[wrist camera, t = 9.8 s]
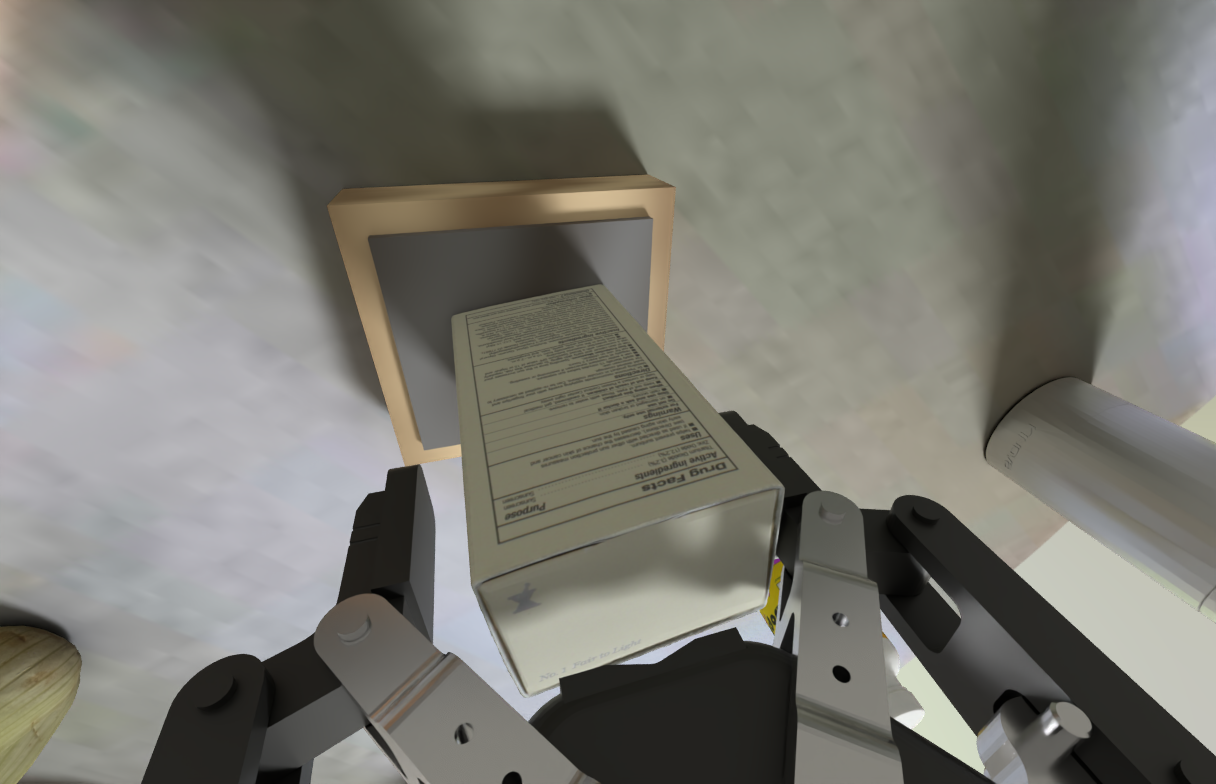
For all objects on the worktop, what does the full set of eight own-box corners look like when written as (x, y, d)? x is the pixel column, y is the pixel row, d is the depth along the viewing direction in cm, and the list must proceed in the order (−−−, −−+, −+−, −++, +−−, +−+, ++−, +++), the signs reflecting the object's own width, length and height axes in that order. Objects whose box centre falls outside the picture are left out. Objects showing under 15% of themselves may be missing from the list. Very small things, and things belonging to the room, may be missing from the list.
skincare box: (477, 405, 20) (511, 709, 10) (447, 307, 18) (454, 589, 8) (619, 370, 21) (771, 617, 12) (610, 274, 19) (793, 486, 9)
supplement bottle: (737, 556, 38) (848, 734, 28) (811, 523, 39) (948, 686, 28) (744, 599, 42) (844, 770, 32) (812, 569, 42) (932, 727, 32)
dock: (648, 174, 21) (679, 189, 18) (638, 390, 27) (661, 426, 24) (342, 188, 18) (324, 208, 15) (408, 427, 24) (404, 472, 21)
